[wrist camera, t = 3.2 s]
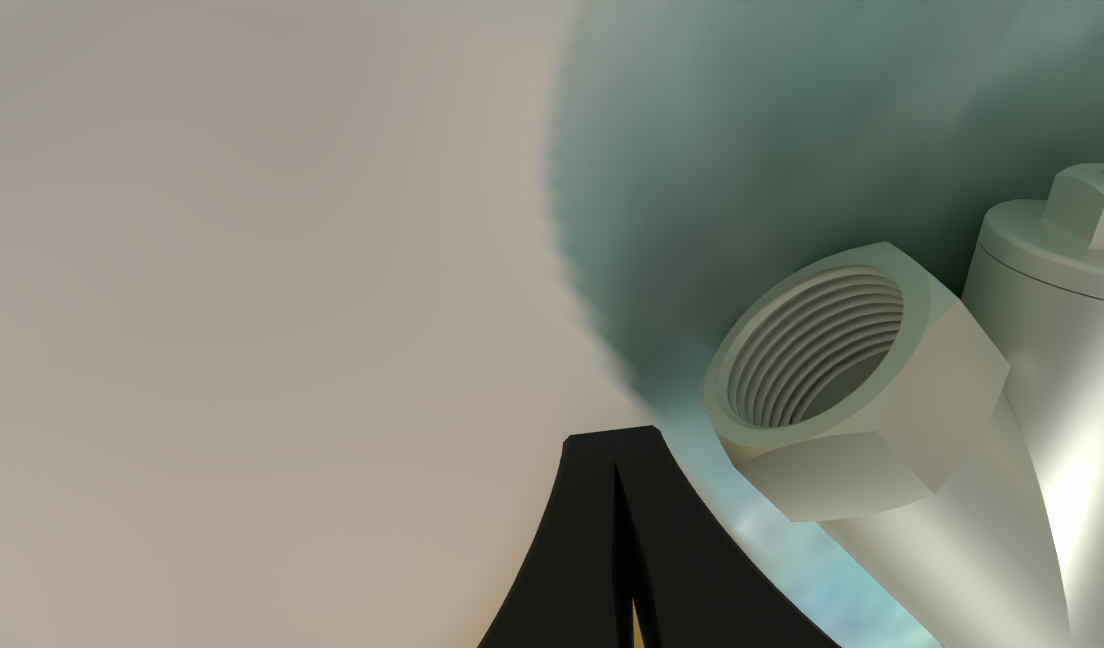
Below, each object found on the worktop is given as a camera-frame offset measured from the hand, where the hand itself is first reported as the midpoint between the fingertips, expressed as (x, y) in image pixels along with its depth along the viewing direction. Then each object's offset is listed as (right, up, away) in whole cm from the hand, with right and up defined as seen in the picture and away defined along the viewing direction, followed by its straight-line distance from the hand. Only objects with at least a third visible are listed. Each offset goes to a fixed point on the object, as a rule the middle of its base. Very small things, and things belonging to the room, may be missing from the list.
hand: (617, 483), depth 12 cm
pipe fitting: (+6, +2, +2) cm, 7 cm away
